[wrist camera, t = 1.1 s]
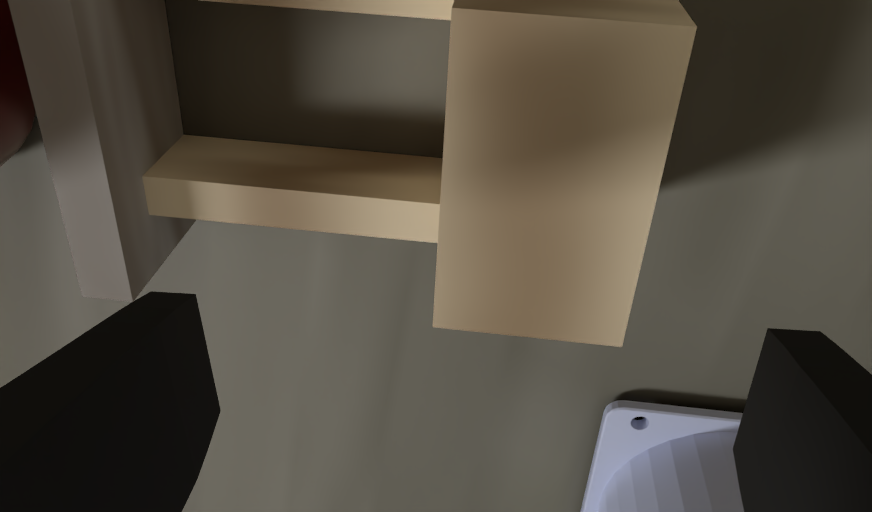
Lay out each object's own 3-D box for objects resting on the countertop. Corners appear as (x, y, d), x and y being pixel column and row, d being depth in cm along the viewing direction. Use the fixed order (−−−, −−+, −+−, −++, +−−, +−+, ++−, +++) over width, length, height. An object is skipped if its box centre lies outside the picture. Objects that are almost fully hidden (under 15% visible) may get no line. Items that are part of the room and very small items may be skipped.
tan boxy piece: (662, -126, 15) (723, -86, 10) (589, 259, 20) (608, 405, 15) (86, -163, 15) (-104, -142, 11) (152, 216, 20) (41, 343, 16)
